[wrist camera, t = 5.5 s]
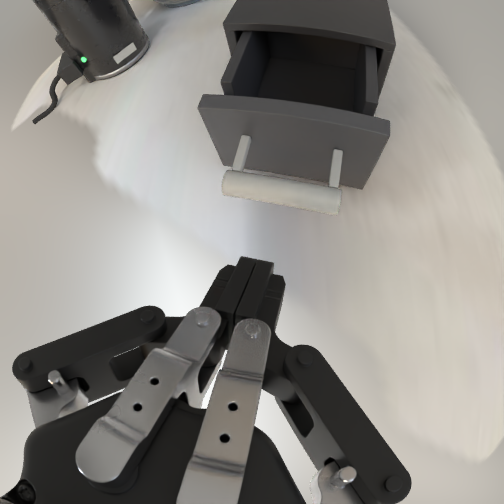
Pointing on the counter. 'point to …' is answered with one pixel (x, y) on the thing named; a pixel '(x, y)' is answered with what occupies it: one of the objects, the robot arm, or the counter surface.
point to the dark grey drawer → (296, 118)
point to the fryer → (319, 23)
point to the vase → (176, 2)
